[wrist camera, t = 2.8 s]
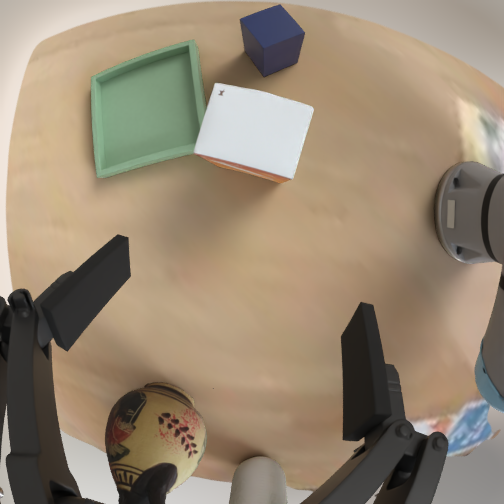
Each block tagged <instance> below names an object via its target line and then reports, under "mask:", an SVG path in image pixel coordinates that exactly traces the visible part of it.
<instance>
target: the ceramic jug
mask: <svg viewBox="0 0 504 504" xmlns="http://www.w3.org/2000/svg"><path fill="white" fill-rule="evenodd" d="M213 389H214V388H213ZM206 443H207V432H206V428H205V425H204V422H203V419H202V417H201V415H200V414H199V412H198V411H197V410H196V409H195V408H194V400H193V398H192V397H191V396H189V395H188V394H187V393H185V392H184V391H183V390H181V389H180V388H177V387H174V386H172V385H169V384H167V383H150V384H146V385H145V387H144V388H140V389H136V390H134V391H131V392H128V393H127V394H125V395H124V396H123V397H121V398H120V399H119V400H118V401H117V402H116V404H115V405H114V406H113V408H112V410H111V412H110V415H109V418H108V422H107V426H106V432H105V445H106V453H107V457H108V461H109V466H110V470H111V473H112V476H113V479H114V481H115V484H116V486H117V491H118V493H119V500H118V501H119V504H165V499H166V494H168V493H170V492H171V491H172V490H174V489H175V488H177V487H178V486H179V485H181V484H182V483H183V482H185V481H186V480H187V479H188V478H189V477H190V476H191V475H192V474H193V472H194V471H195V470H196V468H197V467H198V465H199V463H200V461H201V459H202V457H203V454H204V451H205V448H206Z"/></svg>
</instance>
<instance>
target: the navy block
mask: <svg viewBox="0 0 504 504" xmlns="http://www.w3.org/2000/svg"><path fill="white" fill-rule="evenodd" d="M240 24H241V30H242V36H243V43H244V49H245V52H246V53H247V55H248V56H249V57H250V59H251V60H252V61H253V63H254V64H255V66H256V67H257V68H258V70H259V71H260V73H261V74H262V75H263V77H265V76H268V75H270V74H272V73H274V72H277V71H279V70H281V69H284V68H286V67H288V66H291V65H293V64H296V63H297V62H298V58H299V54H300V50H301V47H302V43H303V39H304V35H305V32H304V31H303V30H302V28H301V27H300V26H299V25H298V24H297V23H296V21H295V20H294V19H293V18H292V17H291V16H290V15H289V14H288V12H287V11H286V10H285V9H284V8H283V7H282V6H281V5H277V6H274V7H271V8H268V9H265V10H262V11H259V12H257V13H254V14H251V15H249V16H246V17H244V18H241V19H240Z"/></svg>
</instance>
